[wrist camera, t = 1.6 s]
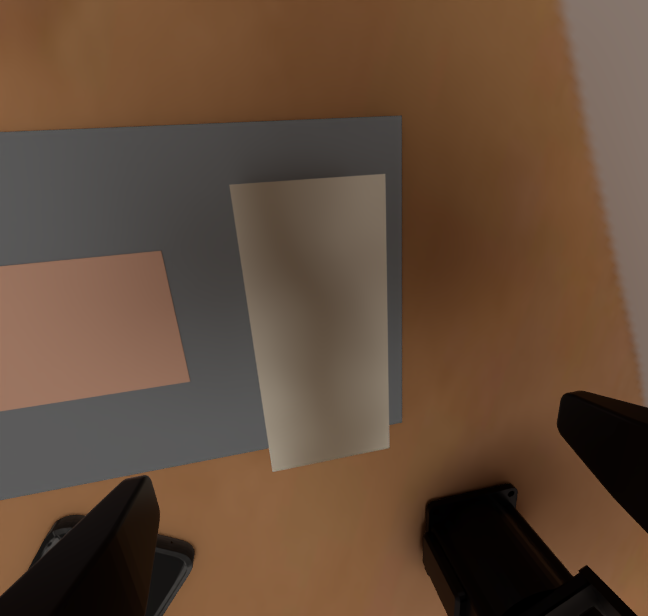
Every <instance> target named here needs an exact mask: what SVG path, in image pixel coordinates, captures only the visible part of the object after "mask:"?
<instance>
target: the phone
mask: <svg viewBox="0 0 648 616" xmlns="http://www.w3.org/2000/svg"><path fill="white" fill-rule="evenodd" d="M84 517H85V516H82V515H69V516H66V517H63V518H61V519H59V520H58V521H56V522H55V524H54V525H53V526H52V528H51V529H50V531H49V533H48V534H47V536H46V538H45V539H44V541H43V543H42V545H41V547H40V549H39V550H38V552H37V554H36V556H35V558H34V560H33V562H32V564H31V565H30V567H29V569H30V568H31V567H32V566H33V565H34V564H35V563H36V562H37V561H38V560H39V559H40V558H41V557H42V556H44V555H45V554H46V553H47V552H48V551H49V550H50V549H51V548H52V547H53V546H54V545H55V544H56V543H57V542H58V541H59V540H60V539H62V538H63V537H64V536H65V535H66V534H67V533H68V532H69V531H70V530H71V529H72V528H73V527H74V526H75V525H76V524H77V523H78V522H79V521H81V520H82V519H83V518H84ZM171 542H173V543H171ZM193 561H194V549H193V547H192V545H190V544H189V543H188V542H186V541H183V540H179V539H175V538H171V537H167V536H163V535H159V534H158V535H157V541H156V548H155V554H154V561H153V568H152V574H151V581H150V587H149V594H148V600H147V606H146V612H145V616H163V614H164V613H165V611H166V610H167V608H168V606H169V605H170V603H171V602H172V600H173V599H174V597H175V596H176V594H177V592H178V591H179V589H180V588H181V586H182V585H183V583H184V582H185V580H186V578H187V577H188V575H189V574H190V572H191V570H192V567H193ZM29 569H28V570H29Z"/></svg>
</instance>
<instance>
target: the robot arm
mask: <svg viewBox="0 0 648 616" xmlns="http://www.w3.org/2000/svg"><path fill="white" fill-rule="evenodd" d="M557 428H558V431H559V432H560V434H561V436H562V437H563V438H564V439H565V440H566V442H567V443H568V444H569V445H570V446H571V448H572V449H573V450H574V451H575V452H576V454H577V455H578V456H579V457H580V458H581V460H582V461H583V462H584V463H585V464H586V466H587V467H588V468H589V469H590V471H591V472H592V473H593V474H594V475H595V477H596V478H597V479H598V480H599V481H600V483H601V484H602V485H603V486H604V487H605V488H606V490H607V491H608V492H609V493H610V494H611V495H612V497H613V498H614V499H615V500H616V501H617V502H618V503H619V504H620V505H621V506H622V507H623V508H624V509H625V510H626V511H627V512H628V513H629V515H630V516H631V517H632V518H633V519H634V520H635V521H636V522H637V523H638V524H639V525H640V526H641V527H642V528H643V529H644V530H645V531H646V532H647V533H648V408H647V407H643V406H639V405H635V404H632V403H628V402H624V401H620V400H616V399H613V398H609V397H605V396H601V395H597V394H594V393H590V392H586V391H575V392H570V393H566V394H564V395H563V396H562V398H561V401H560V407H559V413H558V419H557ZM517 493H518V491H517V489H516V488H515V487H514V486H513V485H512V484H510V483H509V484H504V485H500V486H495V487H491V488H487V489H483V490H478V491H474V492H470V493H466V494H461V495H457V496H453V497H449V498H445V499H440V500H436V501H433V502H430V503H429V504H428V505H427V508H426V532H425V534H424V536H423V563H424V566H425V570H426V572H427V574H428V575H429V576H430V578H431V581H432V583H433V585H434V587H435V589H436V591H437V593H438V595H439V598H440V600H441V602H442V604H443V606H444V608H445V610H446V613H447V615H448V616H637V615H636V614H635V613H634V612H633V611H632V610H631V609H630V608H629V607H628V606H627V605H626V604H625V603H624V602H623V601H622V600H621V599H620V598H619V597H618V596H617V595H616V594H615V593H614V592H613V591H612V590H611V589H610V588H609V587H608V586H607V585H606V584H605V583H604V582H603V581H602V580H601V579H600V578H599V577H598V576H597V575H596V574H595V573H594V572H593V571H592V570H591V569H590V568H589V567H588V566H587V565H586V566H584V567H583V568H581V569H580V570H578V571H579V573H578V574H577V575H575V576H574V577H573V576H572V575H571V573H570V572H569V571H568V570H567V569H566V568H565V566H564V565H563V564H562V563H561V562H560V560H559V559H558V558H557V557H556V556H555V555H554V553H553V552H552V551H551V550H550V549H549V547H548V546H547V545H546V544H545V543H544V542H543V540H542V539H541V538H540V537H539V536H538V534H537V533H536V532H535V531H534V530H533V529H532V527H531V526H530V525H529V524H528V523H527V521H526V520H525V519H524V518H523V517H522V516H521V514H520V513H519V512H518V511H517V510H516V501H517ZM159 521H160V510H159V505H158V502H157V498H156V495H155V492H154V488H153V485H152V481H151V479H150V478H149V476H146V475H143V476H138V477H132V478H128V479H125V480H123V481H122V482H121V483H120V484H119V485H118V486H116V487H115V488H114V489H113V490H112V491H111V492H110V493H109V494H108V495H107V496H106V497H105V498H104V499H103V500H102V501H101V502H100V503H99V504H97V505H96V506H95V507H94V508H93V509H92V510H91V511H90V512H89V513H88V514H87V515H86V516H85V517H84V518H83V519H82V520H81V521H79V522H78V523H77V524H76V525H75V526H74V527H73V528H72V529H71V530H70V531H69V532H68V533H67V534H66V535H65V536H64V537H63V538H62V539H60V540H59V541H58V542H57V543H56V544H55V545H54V546H53V547H52V548H51V549H50V550H49V551H48V552H47V553H46V554H45V555H44V556H42V557H41V558H40V559H39V560H38V561H37V562H36V563H35V564H34V565H33V566H32V567H31V568H30V569H29V570H28V571H27V572H26V573H25V574H23V575H22V576H21V577H20V578H19V579H18V580H17V581H16V582H15V583H14V584H13V585H12V586H11V587H10V588H9V589H8V590H7V591H5V592H4V593H3V594H2V595H1V596H0V616H145V612H146V606H147V600H148V594H149V587H150V581H151V574H152V568H153V561H154V554H155V548H156V541H157V535H158V528H159Z"/></svg>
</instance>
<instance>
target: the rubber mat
mask: <svg viewBox="0 0 648 616" xmlns="http://www.w3.org/2000/svg"><path fill="white" fill-rule="evenodd" d="M375 174H385V183H386V250H387V318H388V385H389V425H391V424H396V423H402V116H380V117H356V118H332V119H308V120H284V121H260V122H236V123H212V124H188V125H164V126H140V127H116V128H92V129H68V130H43V131H19V132H0V500H4V499H9V498H14V497H19V496H25V495H30V494H35V493H40V492H45V491H50V490H55V489H61V488H66V487H71V486H76V485H81V484H86V483H92V482H97V481H102V480H107V479H112V478H117V477H123V476H128V475H133V474H138V473H143V472H148V471H154V470H159V469H164V468H169V467H174V466H179V465H185V464H190V463H195V462H200V461H205V460H210V459H216V458H221V457H226V456H231V455H236V454H241V453H247V452H252V451H257V450H262V449H267V448H269V445H268V438H267V432H266V425H265V418H264V412H263V405H262V398H261V392H260V385H259V378H258V372H257V365H256V359H255V352H254V345H253V339H252V332H251V325H250V319H249V312H248V305H247V299H246V292H245V285H244V279H243V272H242V266H241V259H240V252H239V246H238V239H237V232H236V226H235V219H234V212H233V206H232V199H231V192H230V186H229V185H232V184H247V183H261V182H275V181H289V180H304V179H318V178H332V177H347V176H361V175H375Z"/></svg>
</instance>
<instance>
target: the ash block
mask: <svg viewBox="0 0 648 616" xmlns="http://www.w3.org/2000/svg"><path fill="white" fill-rule="evenodd" d="M229 186H230V192H231V199H232V206H233V212H234V219H235V226H236V232H237V239H238V246H239V252H240V259H241V266H242V272H243V279H244V285H245V292H246V299H247V305H248V312H249V319H250V325H251V332H252V339H253V345H254V352H255V359H256V365H257V372H258V378H259V385H260V392H261V398H262V405H263V412H264V418H265V425H266V432H267V438H268V445H269V452H270V458H271V465H272V471H273V472H275V471H279V470H284V469H289V468H294V467H299V466H304V465H309V464H314V463H318V462H323V461H328V460H333V459H338V458H343V457H348V456H353V455H357V454H362V453H367V452H372V451H377V450H382V449H387V448H389V385H388V318H387V250H386V183H385V174H375V175H361V176H347V177H332V178H318V179H304V180H289V181H275V182H261V183H247V184H232V185H229Z"/></svg>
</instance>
